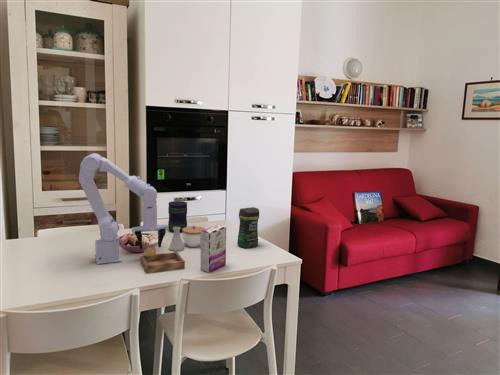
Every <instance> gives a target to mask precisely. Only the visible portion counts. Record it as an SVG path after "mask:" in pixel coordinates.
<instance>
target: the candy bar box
mask: <svg viewBox="0 0 500 375" xmlns="http://www.w3.org/2000/svg"><path fill="white" fill-rule="evenodd" d="M226 261H227V226H225V225H221V224H217V225H212V226H210V227H207V228H205V229H204V230H201V245H200V271H202V272H205V273H206V272H207V273H212V272H214V271H216V270H218V269H219V268H222V267H224V266H225V265H227V263H226Z"/></svg>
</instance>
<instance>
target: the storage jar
mask: <svg viewBox="0 0 500 375" xmlns="http://www.w3.org/2000/svg"><path fill="white" fill-rule="evenodd" d="M167 210H168V212H167V213H168V224H167V225H168V230H167V231H168V232H169V233H173V234H174V230H173V228H174V227H180V234H183V232H182V229H183V228H185V227H188V220H187V219H188V218H187V216H188V215H187V214H188V202H186V201H183V200H182V201H181V200H174V201H173V200H172V201H169V202H168V208H167Z"/></svg>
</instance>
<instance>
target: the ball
mask: <svg viewBox="0 0 500 375" xmlns="http://www.w3.org/2000/svg"><path fill="white" fill-rule="evenodd" d="M153 254H157V250H156V248H155V247H154V246H147V247H146V248H145V249H144V251H143V255H153Z"/></svg>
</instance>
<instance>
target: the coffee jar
mask: <svg viewBox="0 0 500 375" xmlns="http://www.w3.org/2000/svg"><path fill="white" fill-rule="evenodd" d="M238 218H239V228H238V236H237V246H238V247H240V248H244V249H247V248H248V249H249V248H250V247H251V248H254V247H258V245H259V232H258V229H259V228H258V227H259V226H258V222H259V219H260V209H259V208H257V207H253V206H252V207H244V208H241V207H240V209H239V211H238Z"/></svg>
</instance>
